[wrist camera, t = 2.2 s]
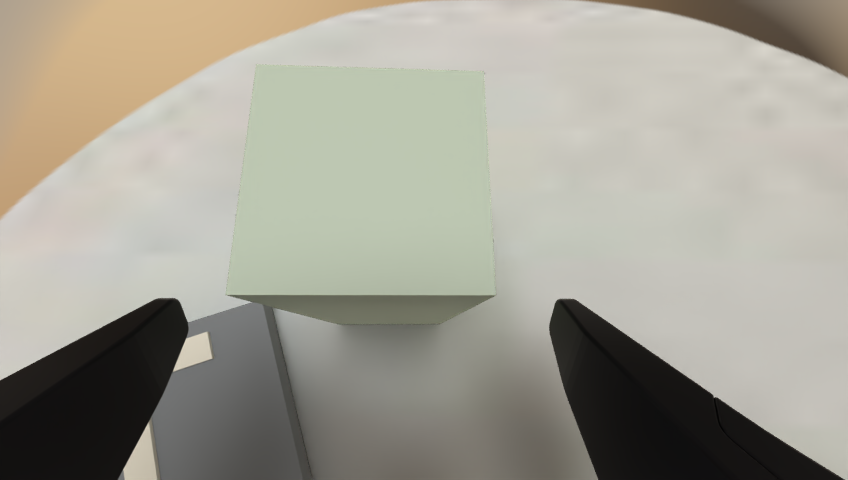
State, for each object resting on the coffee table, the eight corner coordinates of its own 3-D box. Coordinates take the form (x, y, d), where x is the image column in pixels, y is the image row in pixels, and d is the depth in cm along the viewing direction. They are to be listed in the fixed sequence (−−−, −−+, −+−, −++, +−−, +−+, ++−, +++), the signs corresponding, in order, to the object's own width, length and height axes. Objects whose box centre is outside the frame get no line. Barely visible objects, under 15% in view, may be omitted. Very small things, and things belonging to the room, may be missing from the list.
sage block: (439, 324, 19) (495, 295, 7) (337, 324, 18) (225, 294, 7) (438, 227, 20) (483, 71, 8) (343, 226, 20) (256, 64, 8)
